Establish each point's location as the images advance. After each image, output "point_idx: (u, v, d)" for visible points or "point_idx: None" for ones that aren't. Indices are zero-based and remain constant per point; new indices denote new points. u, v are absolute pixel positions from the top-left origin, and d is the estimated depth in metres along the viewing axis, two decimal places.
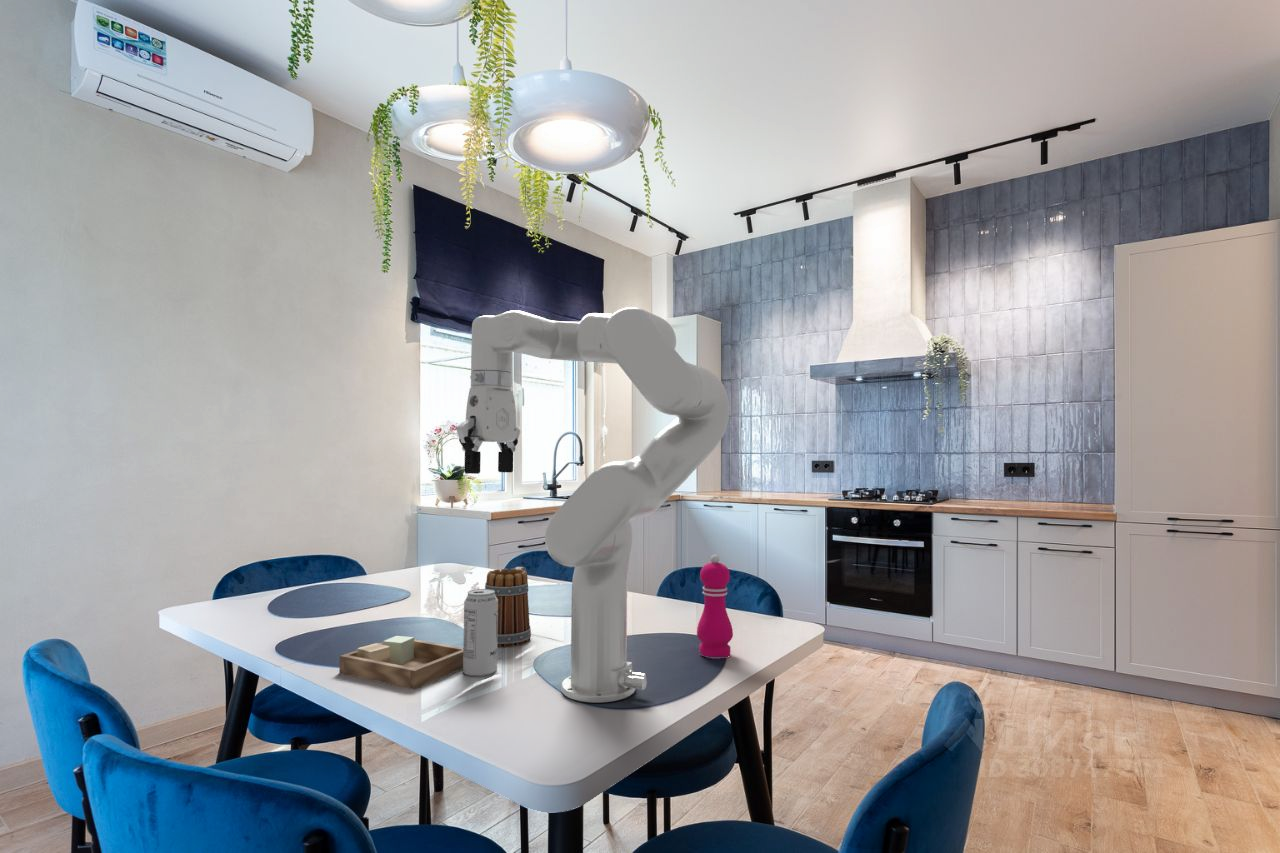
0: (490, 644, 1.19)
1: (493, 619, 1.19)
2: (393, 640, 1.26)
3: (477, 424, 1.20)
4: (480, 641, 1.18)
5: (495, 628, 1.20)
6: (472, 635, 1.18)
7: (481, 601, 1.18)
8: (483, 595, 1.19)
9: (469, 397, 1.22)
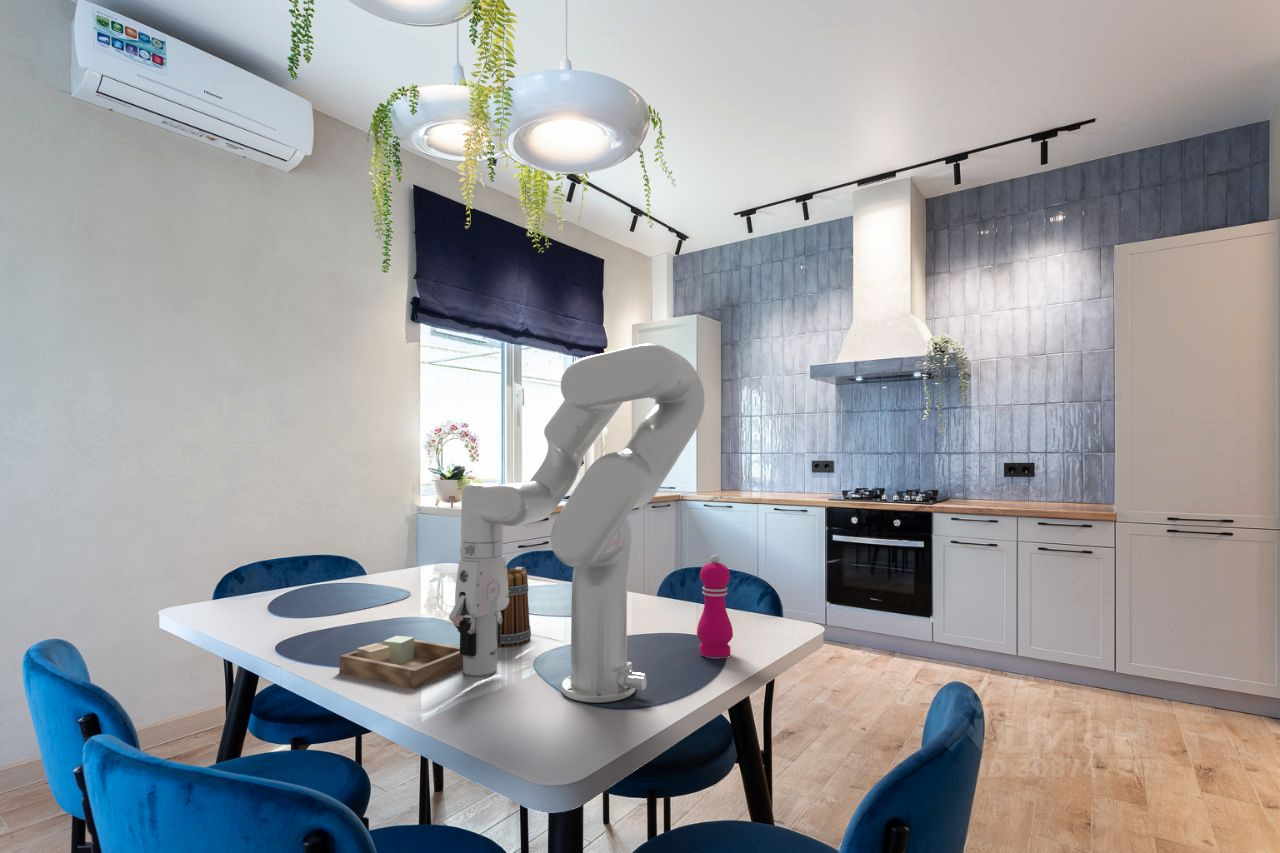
0: (490, 644, 1.19)
1: (493, 619, 1.19)
2: (393, 640, 1.26)
3: (467, 602, 1.16)
4: (480, 641, 1.18)
5: (495, 628, 1.20)
6: None
7: None
8: None
9: (459, 571, 1.18)
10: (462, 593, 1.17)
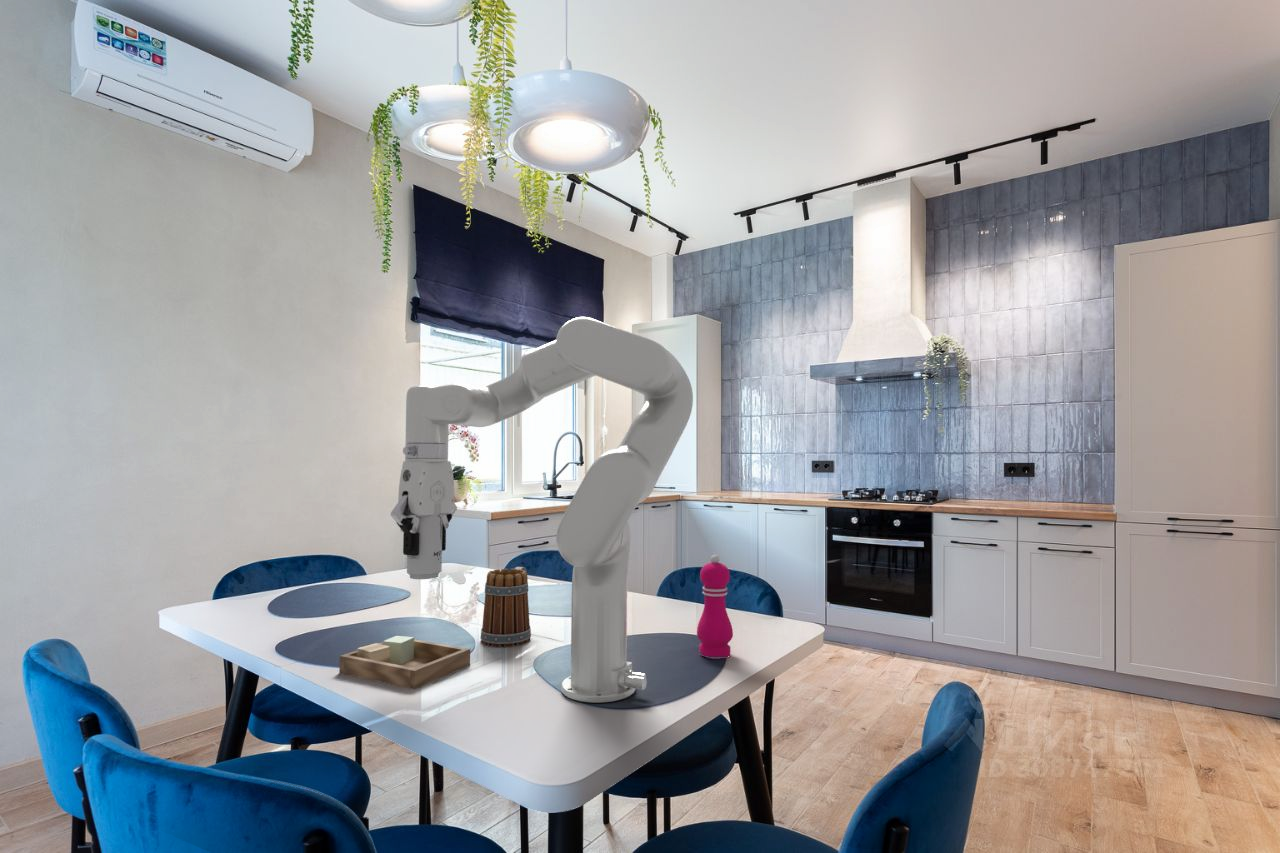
0: (434, 545, 1.19)
1: (437, 520, 1.19)
2: (393, 640, 1.26)
3: (410, 500, 1.16)
4: (423, 541, 1.18)
5: (439, 530, 1.20)
6: None
7: None
8: None
9: (402, 471, 1.18)
10: (405, 493, 1.17)
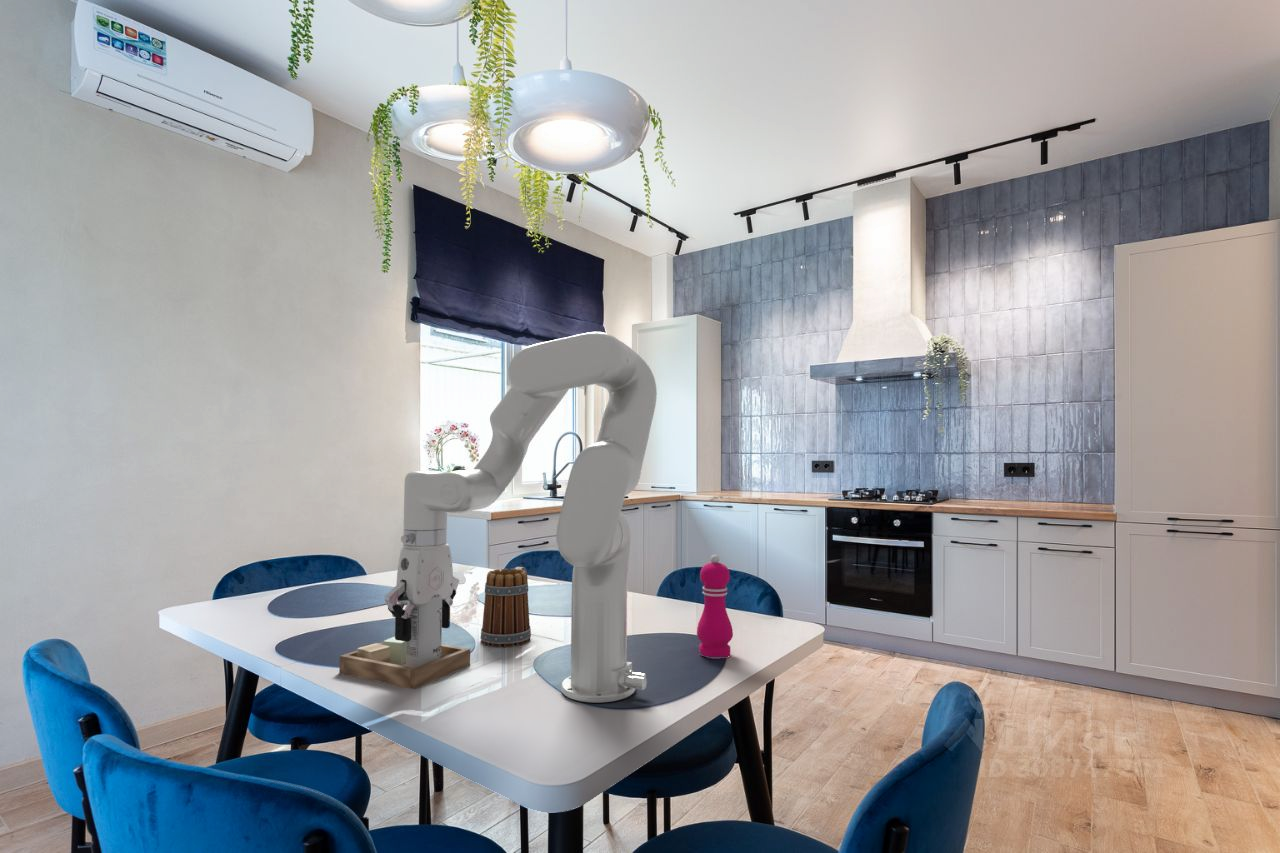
0: (433, 642, 1.18)
1: (436, 616, 1.19)
2: (393, 640, 1.26)
3: (408, 589, 1.15)
4: (422, 638, 1.17)
5: (438, 625, 1.19)
6: (414, 632, 1.17)
7: None
8: None
9: (400, 559, 1.17)
10: None
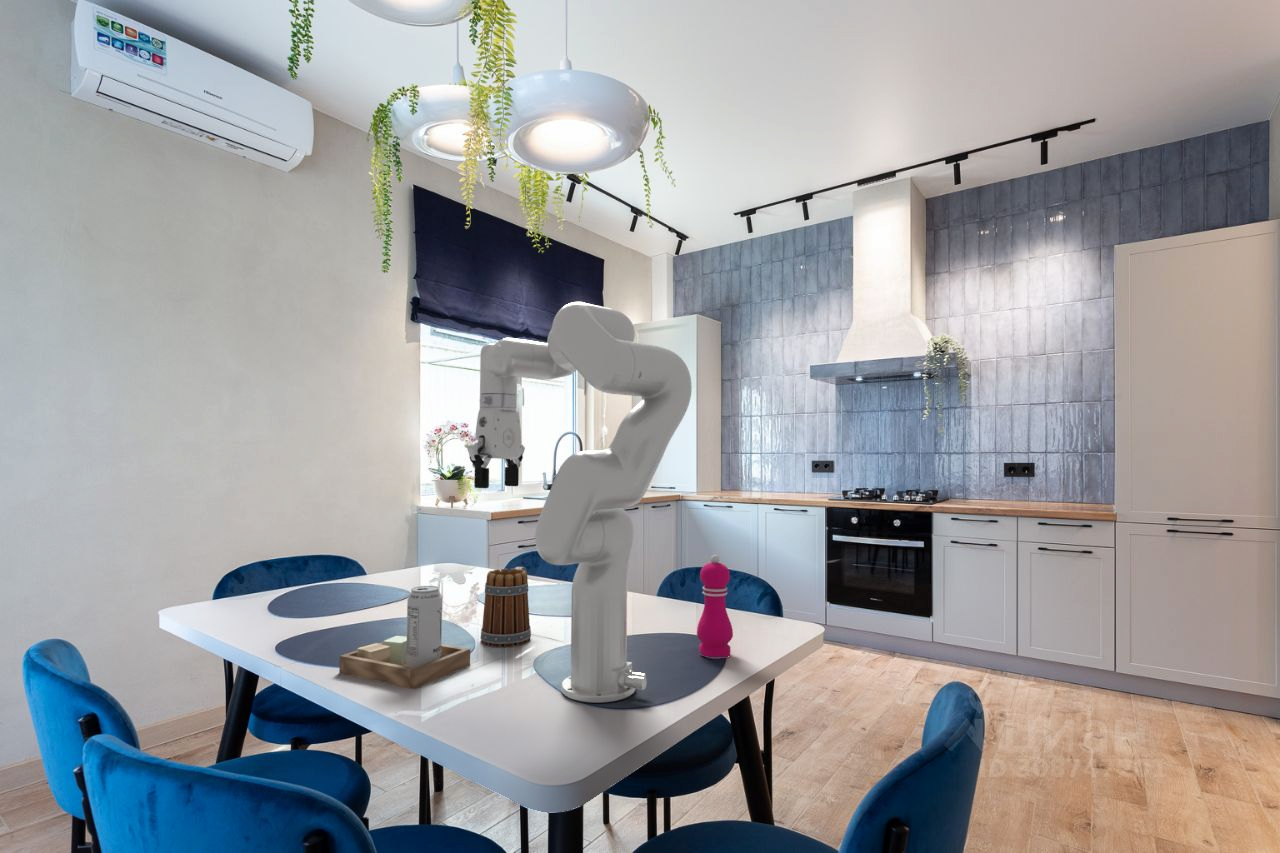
0: (433, 641, 1.18)
1: (436, 616, 1.19)
2: (393, 640, 1.26)
3: (486, 443, 1.32)
4: (423, 638, 1.17)
5: (438, 625, 1.19)
6: (414, 632, 1.17)
7: (423, 598, 1.18)
8: (426, 592, 1.18)
9: (478, 418, 1.33)
10: None
